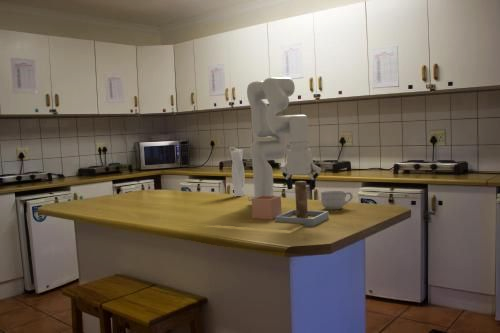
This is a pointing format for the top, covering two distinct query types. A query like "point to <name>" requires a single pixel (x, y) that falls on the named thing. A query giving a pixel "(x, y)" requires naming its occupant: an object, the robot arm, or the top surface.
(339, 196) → the teacup
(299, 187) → the dowel pin
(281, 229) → the top surface
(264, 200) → the pink cube box
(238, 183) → the skyscraper
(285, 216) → the tray
